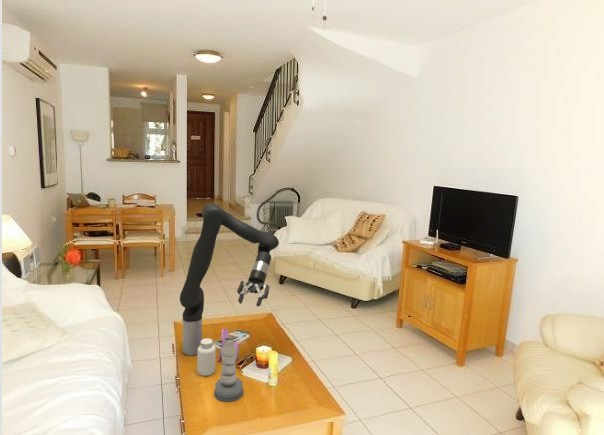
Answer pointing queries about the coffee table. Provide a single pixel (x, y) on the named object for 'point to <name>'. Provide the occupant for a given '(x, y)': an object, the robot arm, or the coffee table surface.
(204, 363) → the pill bottle
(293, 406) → the coffee table surface
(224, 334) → the toy chair
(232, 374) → the plastic bottle
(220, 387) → the slate plinth
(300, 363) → the coffee table surface
